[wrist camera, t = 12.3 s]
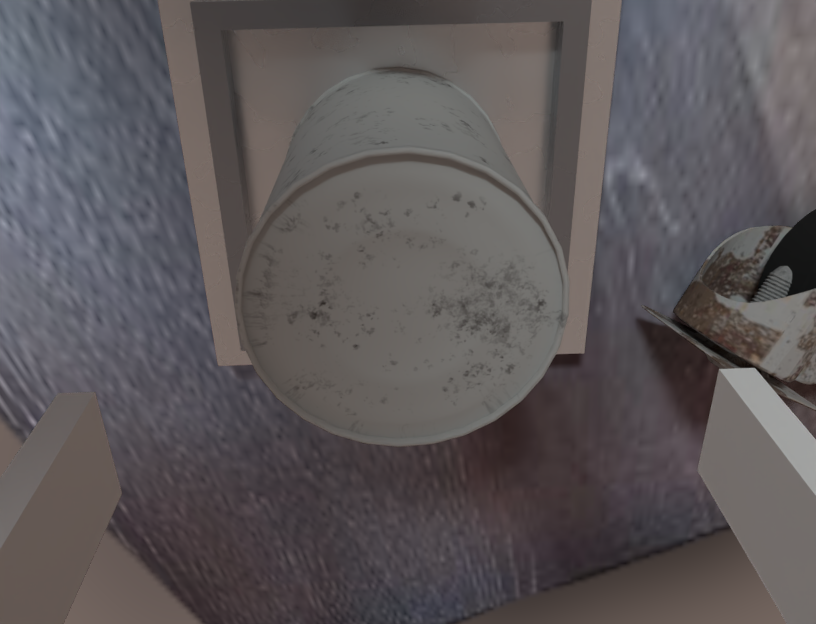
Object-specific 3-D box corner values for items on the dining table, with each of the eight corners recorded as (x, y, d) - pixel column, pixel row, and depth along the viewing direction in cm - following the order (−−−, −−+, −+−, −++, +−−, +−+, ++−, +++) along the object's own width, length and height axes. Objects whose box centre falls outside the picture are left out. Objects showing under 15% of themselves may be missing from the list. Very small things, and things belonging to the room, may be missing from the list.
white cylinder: (408, 318, 35) (420, 494, 24) (240, 194, 32) (168, 333, 21) (551, 168, 32) (640, 293, 21) (380, 14, 29) (380, 67, 18)
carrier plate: (131, -233, 26) (60, -279, 20) (635, -242, 26) (706, -290, 21) (223, 350, 37) (195, 427, 31) (576, 338, 37) (612, 412, 32)
